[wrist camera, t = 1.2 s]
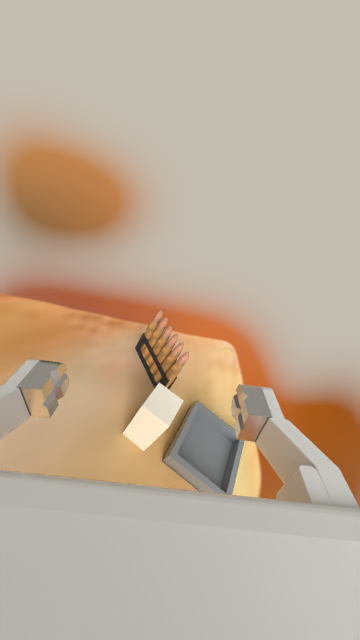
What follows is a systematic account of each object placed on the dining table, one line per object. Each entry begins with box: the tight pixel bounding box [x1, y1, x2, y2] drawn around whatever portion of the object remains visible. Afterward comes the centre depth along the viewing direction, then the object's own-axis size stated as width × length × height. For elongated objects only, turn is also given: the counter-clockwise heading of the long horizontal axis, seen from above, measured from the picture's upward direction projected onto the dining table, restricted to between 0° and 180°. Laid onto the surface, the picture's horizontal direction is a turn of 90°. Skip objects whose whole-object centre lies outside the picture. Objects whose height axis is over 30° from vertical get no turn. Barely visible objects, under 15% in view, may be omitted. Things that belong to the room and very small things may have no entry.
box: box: [162, 401, 244, 495], centre depth 34 cm, size 10×10×3 cm
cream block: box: [123, 383, 183, 451], centre depth 30 cm, size 4×4×10 cm
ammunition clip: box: [135, 309, 189, 389], centre depth 38 cm, size 11×2×12 cm, turn 31°
